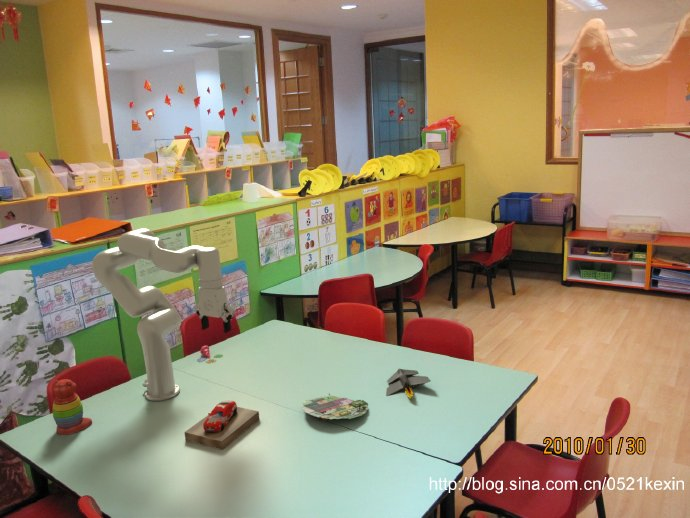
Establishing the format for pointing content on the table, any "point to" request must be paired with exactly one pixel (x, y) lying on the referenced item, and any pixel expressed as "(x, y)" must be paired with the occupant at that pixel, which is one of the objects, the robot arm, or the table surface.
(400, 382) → the toy plane
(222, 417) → the race car
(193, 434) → the walnut base
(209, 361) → the toy pieces
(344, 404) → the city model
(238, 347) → the table surface
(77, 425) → the stacking bear
